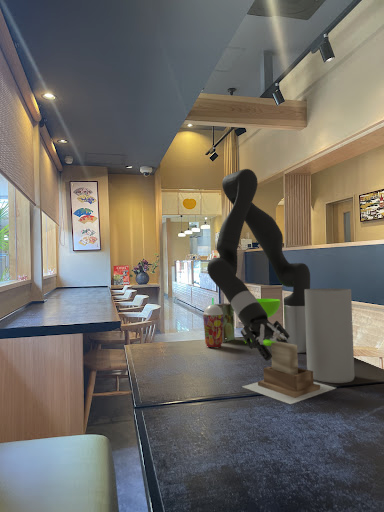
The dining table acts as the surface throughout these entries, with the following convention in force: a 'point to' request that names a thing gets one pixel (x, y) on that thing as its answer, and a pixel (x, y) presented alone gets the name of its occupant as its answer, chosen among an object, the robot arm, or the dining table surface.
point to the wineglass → (269, 312)
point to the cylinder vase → (329, 334)
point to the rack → (289, 382)
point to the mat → (285, 397)
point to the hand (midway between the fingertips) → (280, 356)
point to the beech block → (284, 357)
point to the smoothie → (213, 325)
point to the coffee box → (227, 322)
